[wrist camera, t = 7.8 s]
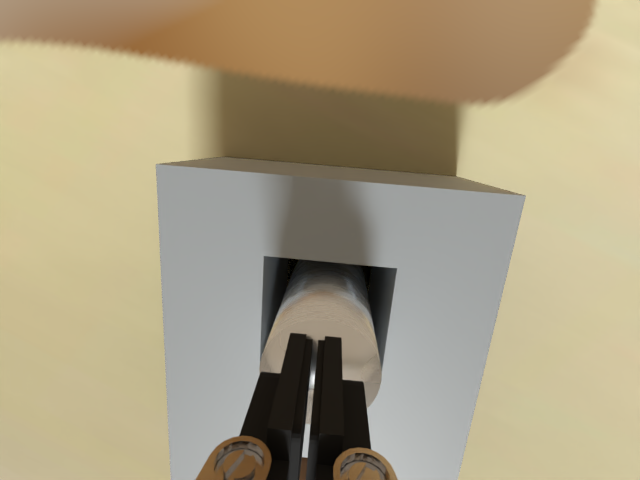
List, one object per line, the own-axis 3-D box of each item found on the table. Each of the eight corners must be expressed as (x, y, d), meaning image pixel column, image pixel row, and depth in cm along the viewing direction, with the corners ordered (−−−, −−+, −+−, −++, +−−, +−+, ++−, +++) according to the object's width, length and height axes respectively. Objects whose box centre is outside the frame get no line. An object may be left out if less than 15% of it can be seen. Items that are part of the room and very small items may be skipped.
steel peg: (368, 250, 18) (389, 326, 11) (360, 318, 20) (373, 431, 12) (293, 243, 19) (261, 314, 11) (289, 311, 20) (257, 418, 12)
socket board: (456, 176, 21) (525, 196, 13) (403, 467, 27) (428, 599, 19) (223, 156, 21) (155, 164, 13) (222, 447, 27) (175, 568, 19)
